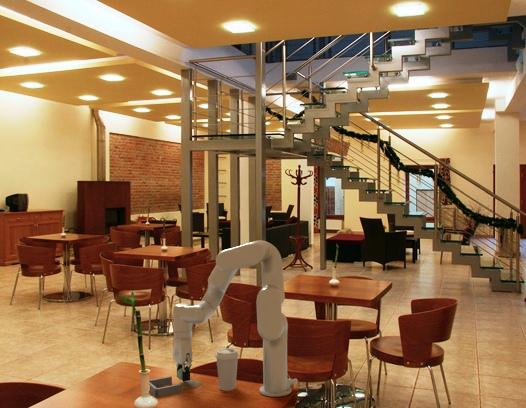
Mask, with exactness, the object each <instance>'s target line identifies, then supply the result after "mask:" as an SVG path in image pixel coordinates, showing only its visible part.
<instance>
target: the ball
mask: <svg viewBox="0 0 526 408" xmlns="http://www.w3.org/2000/svg"><path fill="white" fill-rule="evenodd" d="M182 371H183V368H180V369H179V370H178V372H177V371H176V377H177V376H178V377H177V378H178V379H179V380H181V381H182Z"/></svg>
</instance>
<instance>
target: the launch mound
mask: <svg viewBox="0 0 526 408" xmlns="http://www.w3.org/2000/svg"><path fill="white" fill-rule="evenodd" d="M179 384H182V390H183V389H184V390H193V389H199V388H200V386H201V385H202V386H203V383H202V381H199V380H197V379H192V378H190V380H189V381H184V382H183V381H181V382H180V383H179ZM202 386H201V387H202ZM198 387H199V388H198Z"/></svg>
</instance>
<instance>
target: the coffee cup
mask: <svg viewBox="0 0 526 408" xmlns="http://www.w3.org/2000/svg"><path fill="white" fill-rule="evenodd" d="M239 357H240V355H239V352H238V350H237V349H235V348H231V347H230V348H229V347H228V348H221V349H218V350H216V353H215V355H214V358H216V367H217V376H218V377H217V378H218V386H219V387H218V388H219V390H220V391H222V390H223V392H230V390H231V391H234V390H235V389H237V387H236V386H237V385H236V384H237V372H238V359H239ZM233 389H234V390H233Z"/></svg>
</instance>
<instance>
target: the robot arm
mask: <svg viewBox="0 0 526 408" xmlns="http://www.w3.org/2000/svg"><path fill="white" fill-rule="evenodd" d="M257 264H261V289H260V290H259V291H258V293H257V295H256V303H255V305H256V321H257V322H256V323H257V332H258V335H259V336H260V337H261V338H262V372H263V373H262V377H263V383H262V385H261V386H260V387H259V393H260V394H261V395H263V396H266V397H272V398H274V397H275V398H277V397H278V398H279V397H285V396H288V395H290V394H291V393H292V387H291V386H292V385H296V384H298V383H299V380H298V379H297V378H291V377H290V378H288V329H289V325H288V319H287V317H286V315H285V314H284V313H283V311H282V305H283V303H284V301H285V297H286V296H285V295H286V294H285V281H284V280H285V279H284V270H283V269H284V268H283V267H284V266H283V260H282V256H281V253H280V251H279V250H278V249H277V247H276V246H274V244H272V243H270V242H268V241H266V240H262V239H261V240H255V241H251V242H248V243H245V244H243V245H242V244H241V245H239V246H235V247H232V248H227V249H224V250H221V251H220V252H219V253H218V254H217V255H216V258H215V266H214V268H212V269H213V270H212V271H211V273H210V275H209V276H208V278H207V283H208V285H207V290H206V291H205V293H204V294H203V295H204V296H203V297H202V298H201V300H200V302H198V303H197V304H195V305H191V304H190V303H187V302H185V303H184V302H183V303H182V302H181V303H176V304H174V306H173V308H172V309H173V311H172V312H173V313H172V315H173V316H172V317H173V319H172V320H173V345H172V346H173V347H172V360H173V361H175V362H176V373H177V372H178V370H179V369H180V368H183V371H182V380H181V382H184V381H189V380H190V379H191V367H192V366H193V364H192V362H193V346H192V345H193V344H192V343H193V342H192V338H193V324H194V325H195V324H196V325H200V324H201V325H202V324H203V323H205V322H206V321H208V320H210V319H211V318H212V316H213V315H215V312H216V311H217V309H218V307H219V306H220V303H221V302H222V300H223V298H224V296H225V294H226V292H227V289H228V287H229V286H230V284H231V283H232V280H233V278H234V277H235V275H236V274H237V271H238V270H240V269H244V268H247V267H251V266H254V265H257ZM176 378H178V376H177V375H176Z"/></svg>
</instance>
